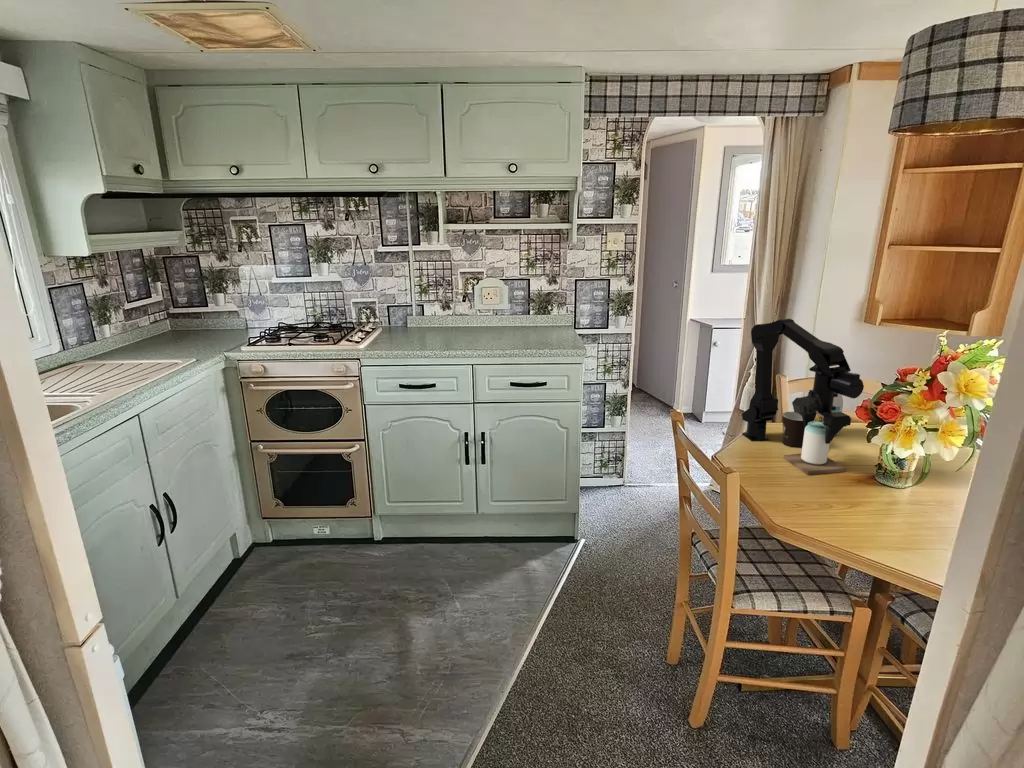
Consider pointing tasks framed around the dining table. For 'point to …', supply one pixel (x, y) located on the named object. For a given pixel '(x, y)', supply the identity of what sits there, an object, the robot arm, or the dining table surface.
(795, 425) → the coffee mug
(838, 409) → the milk bottle
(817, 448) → the can
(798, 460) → the base board
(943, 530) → the dining table surface
